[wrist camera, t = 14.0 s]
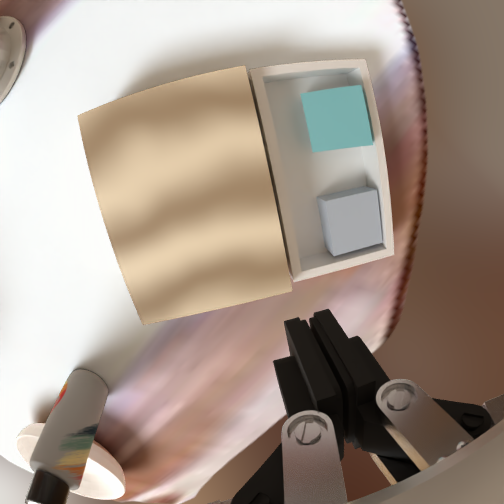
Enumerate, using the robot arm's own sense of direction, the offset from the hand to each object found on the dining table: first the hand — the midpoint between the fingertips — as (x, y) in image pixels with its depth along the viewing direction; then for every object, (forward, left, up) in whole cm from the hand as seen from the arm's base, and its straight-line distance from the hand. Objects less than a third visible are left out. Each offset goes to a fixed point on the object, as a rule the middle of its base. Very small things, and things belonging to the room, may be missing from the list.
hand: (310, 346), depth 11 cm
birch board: (-4, -5, -18) cm, 19 cm away
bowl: (+29, -37, -19) cm, 50 cm away
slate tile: (+1, +9, -15) cm, 17 cm away
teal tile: (-8, +8, -14) cm, 18 cm away
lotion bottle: (+15, -25, -19) cm, 34 cm away
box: (-4, +7, -18) cm, 20 cm away
